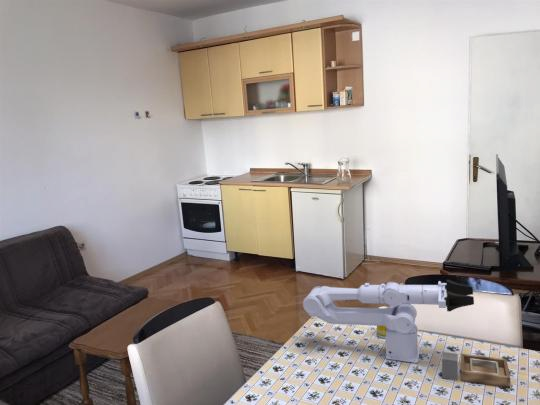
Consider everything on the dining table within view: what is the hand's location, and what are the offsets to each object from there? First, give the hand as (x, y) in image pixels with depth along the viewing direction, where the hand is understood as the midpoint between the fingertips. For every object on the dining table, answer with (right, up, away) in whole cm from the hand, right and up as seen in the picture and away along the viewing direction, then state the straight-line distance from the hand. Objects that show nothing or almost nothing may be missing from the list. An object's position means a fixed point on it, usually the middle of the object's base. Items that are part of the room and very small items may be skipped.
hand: (473, 295), depth 129 cm
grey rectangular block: (-7, -23, -1) cm, 24 cm away
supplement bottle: (-19, -19, +25) cm, 37 cm away
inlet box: (+2, -22, -2) cm, 22 cm away
